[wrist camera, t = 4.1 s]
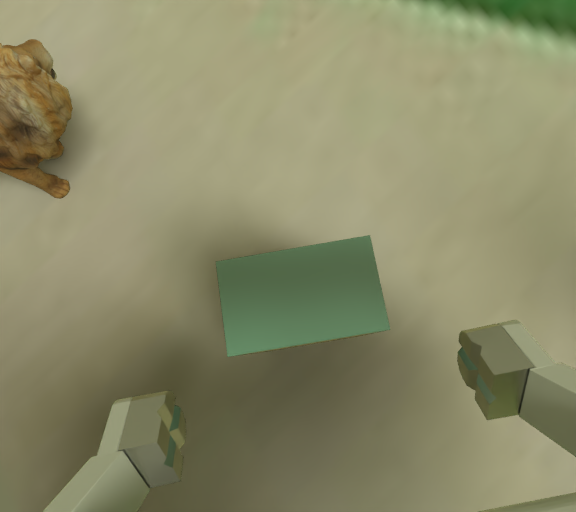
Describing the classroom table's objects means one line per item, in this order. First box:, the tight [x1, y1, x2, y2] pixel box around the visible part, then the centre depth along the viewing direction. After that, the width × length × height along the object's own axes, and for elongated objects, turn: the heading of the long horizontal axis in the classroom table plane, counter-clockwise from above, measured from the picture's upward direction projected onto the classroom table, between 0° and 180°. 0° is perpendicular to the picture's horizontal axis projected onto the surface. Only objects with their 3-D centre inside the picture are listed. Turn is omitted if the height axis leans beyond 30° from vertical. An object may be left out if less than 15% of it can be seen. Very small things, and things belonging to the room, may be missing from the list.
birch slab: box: [216, 235, 390, 357], centre depth 18 cm, size 3×5×10 cm, turn 99°
